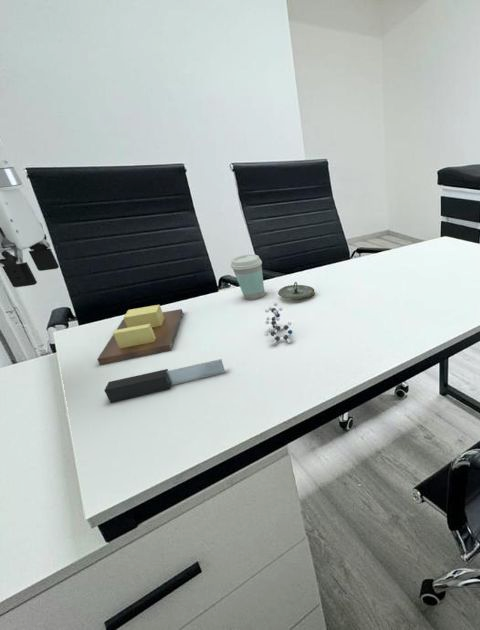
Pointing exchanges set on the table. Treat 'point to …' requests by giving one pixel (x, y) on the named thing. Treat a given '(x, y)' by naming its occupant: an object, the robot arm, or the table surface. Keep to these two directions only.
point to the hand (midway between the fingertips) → (38, 277)
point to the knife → (160, 380)
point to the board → (162, 343)
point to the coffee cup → (249, 275)
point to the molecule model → (277, 325)
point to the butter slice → (134, 336)
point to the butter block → (144, 316)
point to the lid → (296, 291)
